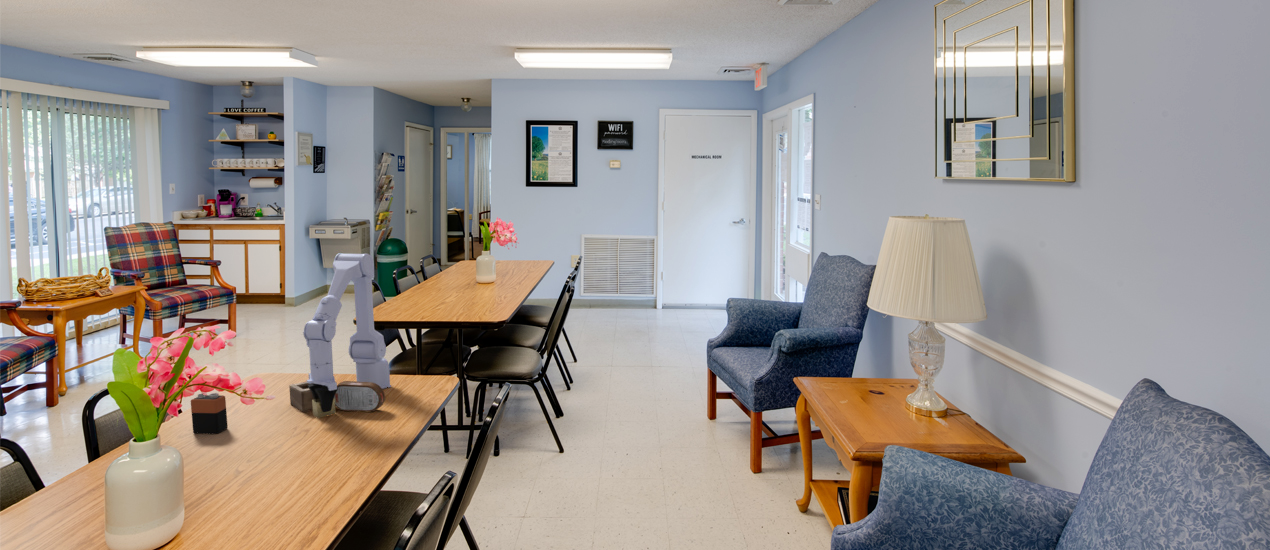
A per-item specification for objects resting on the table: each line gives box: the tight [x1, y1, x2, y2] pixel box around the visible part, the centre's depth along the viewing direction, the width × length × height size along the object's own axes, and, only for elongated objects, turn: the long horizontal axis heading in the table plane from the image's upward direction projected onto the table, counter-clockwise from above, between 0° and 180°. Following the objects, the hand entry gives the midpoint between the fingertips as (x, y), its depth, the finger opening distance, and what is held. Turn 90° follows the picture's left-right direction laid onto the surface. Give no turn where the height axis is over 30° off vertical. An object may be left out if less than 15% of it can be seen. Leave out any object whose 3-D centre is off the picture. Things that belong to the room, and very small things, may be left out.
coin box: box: [288, 381, 314, 413], centre depth 200 cm, size 10×9×6 cm
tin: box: [334, 380, 386, 412], centre depth 195 cm, size 15×3×8 cm, turn 84°
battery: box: [190, 392, 228, 435], centre depth 178 cm, size 4×7×10 cm, turn 88°
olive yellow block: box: [312, 398, 337, 419], centre depth 192 cm, size 5×3×4 cm, turn 136°
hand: (324, 409), depth 192 cm, fingers closed on olive yellow block, 3 cm apart
